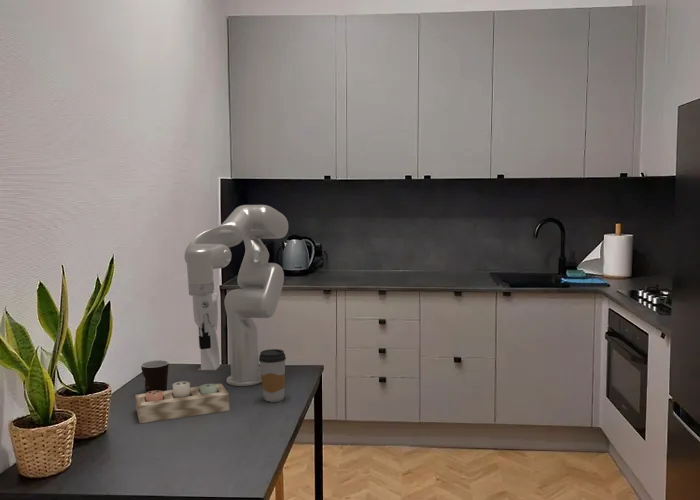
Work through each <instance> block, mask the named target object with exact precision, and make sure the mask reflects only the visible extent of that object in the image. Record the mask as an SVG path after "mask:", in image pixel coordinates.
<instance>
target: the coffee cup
mask: <svg viewBox="0 0 700 500" xmlns="http://www.w3.org/2000/svg"><path fill="white" fill-rule="evenodd" d="M258 356H259V366H260V368H261V380H262V382H261V388H262V393H263V399H264V400H265V402H268V401H269V403H277V402H281V401H283V400H284V398H285V387H286V383H285V382H286V360H287V359H286V358H287V357H286V354H285V351H284V350H282V349H278V348H277V349H276V348H270V349H263V350H262V351H260V353H259V355H258Z"/></svg>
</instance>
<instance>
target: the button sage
mask: <svg viewBox="0 0 700 500" xmlns="http://www.w3.org/2000/svg"><path fill="white" fill-rule="evenodd" d="M216 384H217V383H205V384H204V383H203V384H201V385H200V394H201V395H203V394H211V393H217V385H216Z"/></svg>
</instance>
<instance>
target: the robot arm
mask: <svg viewBox="0 0 700 500" xmlns="http://www.w3.org/2000/svg"><path fill="white" fill-rule="evenodd" d="M288 231H289V222H288V219H287V217H286V216H285V215H284V213H281V212H280V211H278V210H277V209H276V208H273V207H272V206H270V205H267V204H243V205H239V206H237V207H235V208H234V210H233V211H232V212H231V213H230V214H229V215H228V217H226V219H225V220H224V221H223V222H222V223H221V224H219V225H216V226H214V227H212V228H210V229H207V230H205V231H203V232H200V233H199V234H198V235H197V236H195V237H194V238H193V239H192V240H191V241H190V242H189V244H188V245H187V247H186V248H185V252H184V261H185V264H186V271H187V285H188V287H187V288H188V295H189V296H192V310H193V311H192V313H193V319H194V323H195V324H196V326H197V328H198V347H199V350H201V349H209V348H211V340H210V324H211V325H212V326H213V327H214V326H215V316H214V306H213V299H214V298H213V295H215V294H214V293H215V282H214V281H215V280H214V270H215V269H216V270H217V269H218V270H219V269H223V268H225V267H226V268H227V266H228V265H229V264H230V262H231V261H232V252H231V248H232V247H236V246H237V245H240V244H241V243H242V242H243V243H244V248H245V250H244V251H245V252H244V256H243V259H242V262H241V264H240V268H239V271H238V274H237V278H236V279H237V285H238V286H239V287H240V288H236V289H232V290H230V291H228V292H227V294H226V295H225V297H224V301H223V302H224V308H225V309H224V311H225V313H226V317H227V324H228V336H229V337H228V339H229V342H228V343H229V358H230V359H229V360H230V375H229V376H228V377H227V378H226V384H228V385H230V386H234V387H235V386H236V387H247V386H255V385H258V384H262V380H261V368H260V361H259V356H260V355H259V337H258V336H259V335H258V334H259V333H258V327H257V325H256V323H255V321H254V320H253V319H270V318H272V317H273V316H274V315H275V313H276V311H277V310H276V309H277V308H278V304H279V300H280V297H281V293H282V289H283V287H284V281H285V272H284V270H283V267H282V266H281V265H280V264H278V263H275V262H269V260H270V259H269V258H270V253H269V251H268V248H267V247H266V245H265V244H264V242H263V241H262V240H261V239H265V240H267V239H276V240H277V239H283V238H285V237H286V236H287V234H288ZM212 294H213V295H212ZM209 323H210V324H209Z"/></svg>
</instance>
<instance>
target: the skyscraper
mask: <svg viewBox="0 0 700 500" xmlns="http://www.w3.org/2000/svg"><path fill="white" fill-rule="evenodd" d="M213 295H216V297H215V299H214V298H212V299H213V306H214V316H215V326H214V327H213V326H212V325H211V324H210V323H209V324H210V340H211V348H209V349H200V366H199V368H198V369H196V371H217V370H218V369H219V368H220V367H221V366H222V364H221V363H220V360H221V359H220V348H219V347H220V346H219V340H218V335H217V329H218V323H219V322H218V320H219V311H218V310H219V307H218V296H219V294H218V293H216V292H214V294H212V296H213Z"/></svg>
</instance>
